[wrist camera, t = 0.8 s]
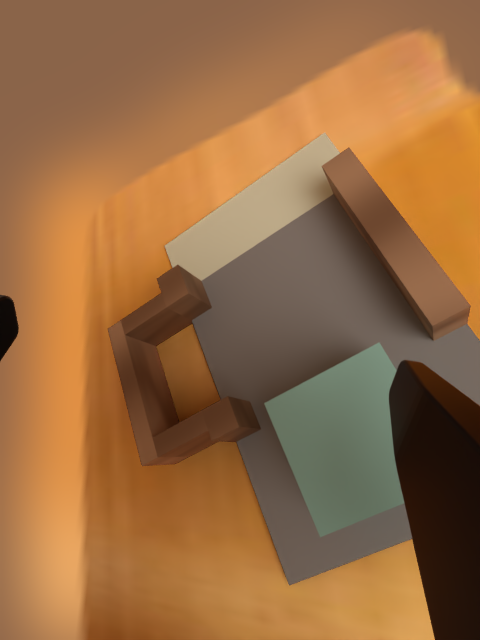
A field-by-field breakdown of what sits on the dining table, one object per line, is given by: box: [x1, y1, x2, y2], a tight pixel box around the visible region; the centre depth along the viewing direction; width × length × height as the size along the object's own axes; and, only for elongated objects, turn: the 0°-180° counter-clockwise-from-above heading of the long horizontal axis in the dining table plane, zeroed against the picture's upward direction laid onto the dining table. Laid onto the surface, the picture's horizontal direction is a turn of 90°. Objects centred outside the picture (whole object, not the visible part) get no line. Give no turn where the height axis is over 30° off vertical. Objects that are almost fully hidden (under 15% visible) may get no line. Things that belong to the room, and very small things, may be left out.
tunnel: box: [108, 148, 471, 466], centre depth 20 cm, size 10×16×3 cm, turn 114°
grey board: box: [165, 133, 480, 585], centre depth 20 cm, size 20×12×1 cm, turn 24°
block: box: [264, 342, 404, 537], centre depth 16 cm, size 5×5×4 cm
